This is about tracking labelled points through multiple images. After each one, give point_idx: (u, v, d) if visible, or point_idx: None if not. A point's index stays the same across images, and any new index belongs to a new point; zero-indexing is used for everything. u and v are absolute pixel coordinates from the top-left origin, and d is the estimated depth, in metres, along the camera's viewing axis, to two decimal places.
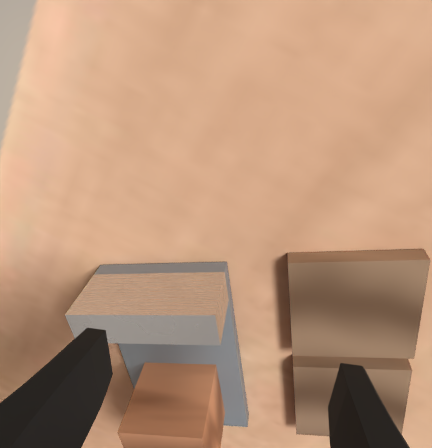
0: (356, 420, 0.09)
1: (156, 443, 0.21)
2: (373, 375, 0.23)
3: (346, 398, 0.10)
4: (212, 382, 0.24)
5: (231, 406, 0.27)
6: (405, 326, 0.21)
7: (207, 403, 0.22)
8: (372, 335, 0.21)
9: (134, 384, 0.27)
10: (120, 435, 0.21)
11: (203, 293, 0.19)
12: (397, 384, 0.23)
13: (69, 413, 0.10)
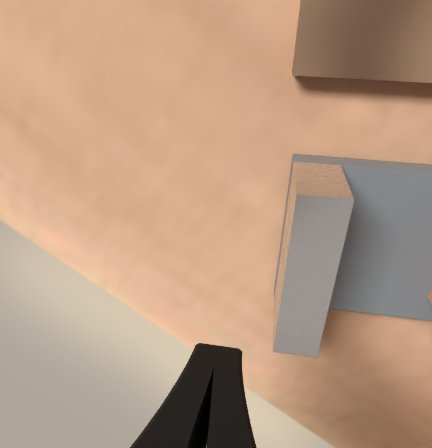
0: (211, 397, 0.09)
1: None
2: None
3: None
4: None
5: None
6: None
7: None
8: None
9: None
10: None
11: (292, 197, 0.15)
12: None
13: (200, 435, 0.09)
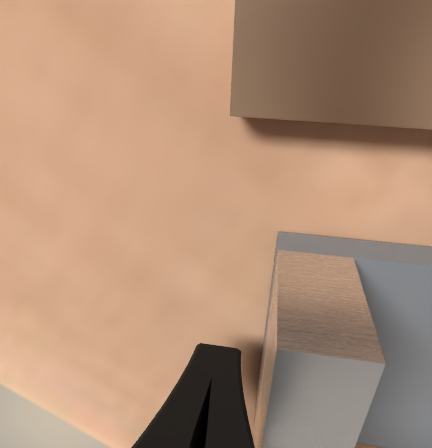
0: (210, 397, 0.09)
1: None
2: None
3: None
4: None
5: None
6: None
7: None
8: None
9: None
10: None
11: (273, 322, 0.09)
12: None
13: (201, 436, 0.09)
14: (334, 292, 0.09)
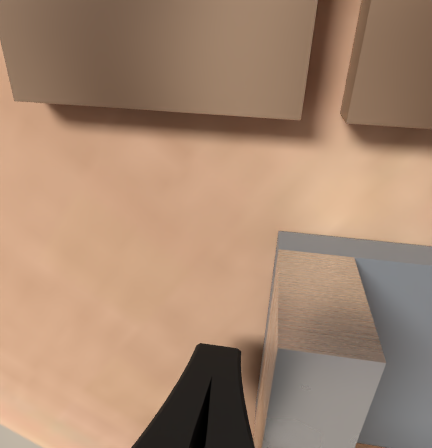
0: (210, 397, 0.09)
1: None
2: None
3: None
4: None
5: None
6: None
7: None
8: None
9: None
10: None
11: (274, 321, 0.09)
12: None
13: (201, 435, 0.09)
14: (335, 291, 0.09)
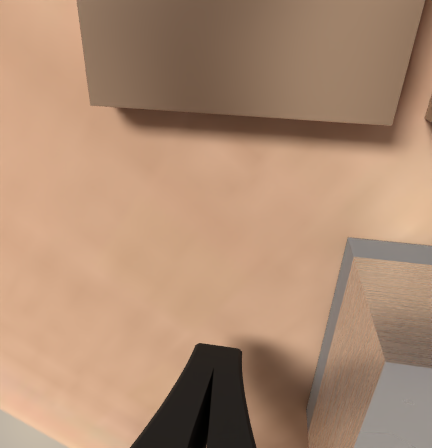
0: (211, 397, 0.09)
1: None
2: None
3: None
4: None
5: None
6: None
7: None
8: None
9: None
10: None
11: (359, 331, 0.09)
12: None
13: (200, 435, 0.09)
14: (425, 301, 0.08)
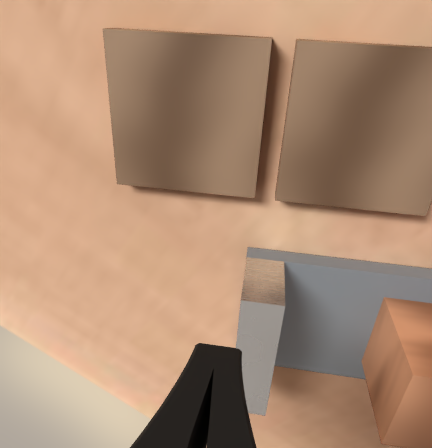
0: (211, 397, 0.09)
1: (411, 418, 0.17)
2: (302, 98, 0.16)
3: None
4: (391, 315, 0.19)
5: None
6: (208, 54, 0.15)
7: (398, 338, 0.17)
8: (223, 98, 0.16)
9: None
10: (387, 443, 0.18)
11: None
12: (326, 61, 0.15)
13: (200, 435, 0.09)
14: (270, 277, 0.18)
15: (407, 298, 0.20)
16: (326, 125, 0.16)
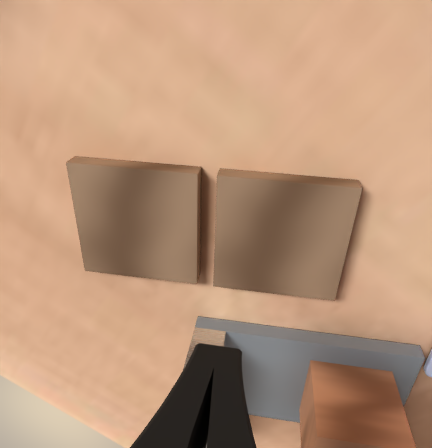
0: (211, 397, 0.09)
1: None
2: (226, 214, 0.20)
3: None
4: (313, 378, 0.23)
5: (381, 363, 0.23)
6: (149, 182, 0.19)
7: (313, 401, 0.21)
8: (164, 213, 0.20)
9: None
10: None
11: None
12: (241, 190, 0.19)
13: (200, 435, 0.09)
14: None
15: (329, 361, 0.24)
16: (246, 234, 0.20)
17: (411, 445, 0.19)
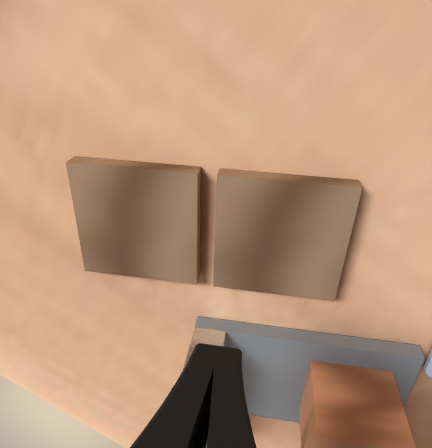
0: (211, 397, 0.09)
1: None
2: (226, 214, 0.20)
3: None
4: (313, 378, 0.23)
5: (381, 363, 0.23)
6: (149, 182, 0.19)
7: (313, 401, 0.21)
8: (164, 213, 0.20)
9: None
10: None
11: None
12: (241, 190, 0.19)
13: (200, 435, 0.09)
14: None
15: (329, 361, 0.24)
16: (246, 234, 0.20)
17: (411, 445, 0.19)
